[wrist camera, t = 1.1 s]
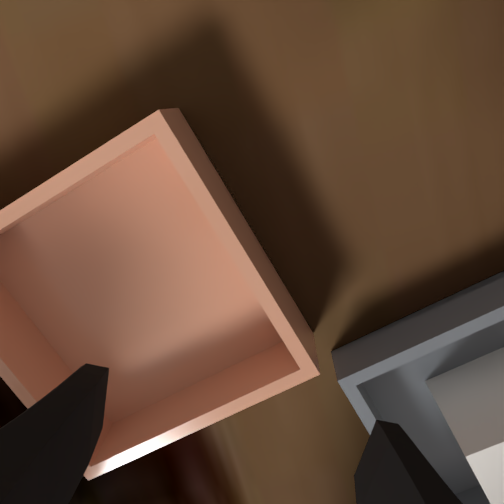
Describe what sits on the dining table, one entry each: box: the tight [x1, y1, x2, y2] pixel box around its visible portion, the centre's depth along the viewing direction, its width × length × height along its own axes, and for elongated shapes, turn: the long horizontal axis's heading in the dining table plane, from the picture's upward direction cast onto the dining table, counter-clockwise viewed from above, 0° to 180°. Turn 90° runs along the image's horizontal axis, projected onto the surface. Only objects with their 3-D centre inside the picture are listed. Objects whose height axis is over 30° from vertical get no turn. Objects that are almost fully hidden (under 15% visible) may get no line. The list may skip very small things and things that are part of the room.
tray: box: [331, 271, 504, 504], centre depth 22 cm, size 11×11×2 cm
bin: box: [0, 108, 320, 481], centre depth 20 cm, size 12×12×4 cm
